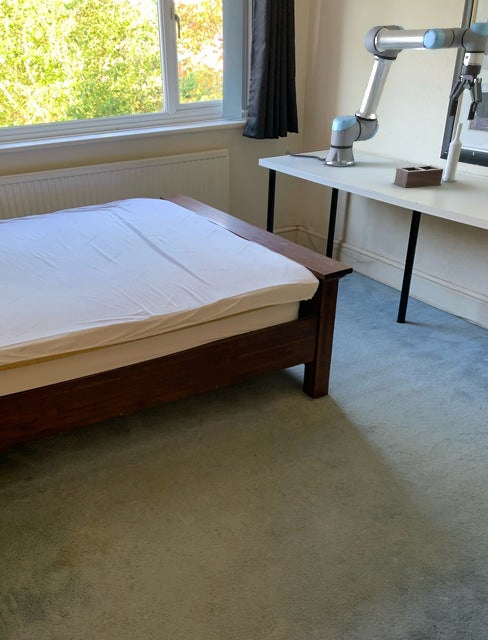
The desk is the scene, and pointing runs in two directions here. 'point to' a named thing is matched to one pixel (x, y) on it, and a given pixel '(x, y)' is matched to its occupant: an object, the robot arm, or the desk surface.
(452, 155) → the bottle
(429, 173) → the caddy
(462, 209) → the desk surface
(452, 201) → the desk surface
